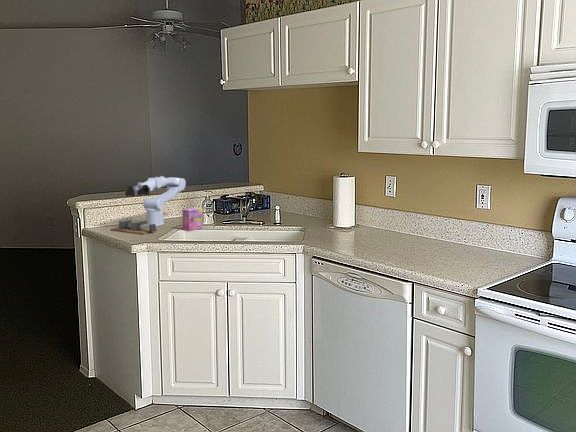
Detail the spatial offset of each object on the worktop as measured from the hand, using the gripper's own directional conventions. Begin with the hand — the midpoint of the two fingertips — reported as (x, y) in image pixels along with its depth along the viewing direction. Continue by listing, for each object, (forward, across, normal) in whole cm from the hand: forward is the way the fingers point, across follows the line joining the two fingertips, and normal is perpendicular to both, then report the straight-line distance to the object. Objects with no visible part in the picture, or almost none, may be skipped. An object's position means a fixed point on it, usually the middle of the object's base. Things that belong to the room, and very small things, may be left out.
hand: (132, 193), depth 314 cm
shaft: (+1, 0, +20) cm, 20 cm away
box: (-16, +23, +27) cm, 39 cm away
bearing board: (+1, -4, +21) cm, 21 cm away
